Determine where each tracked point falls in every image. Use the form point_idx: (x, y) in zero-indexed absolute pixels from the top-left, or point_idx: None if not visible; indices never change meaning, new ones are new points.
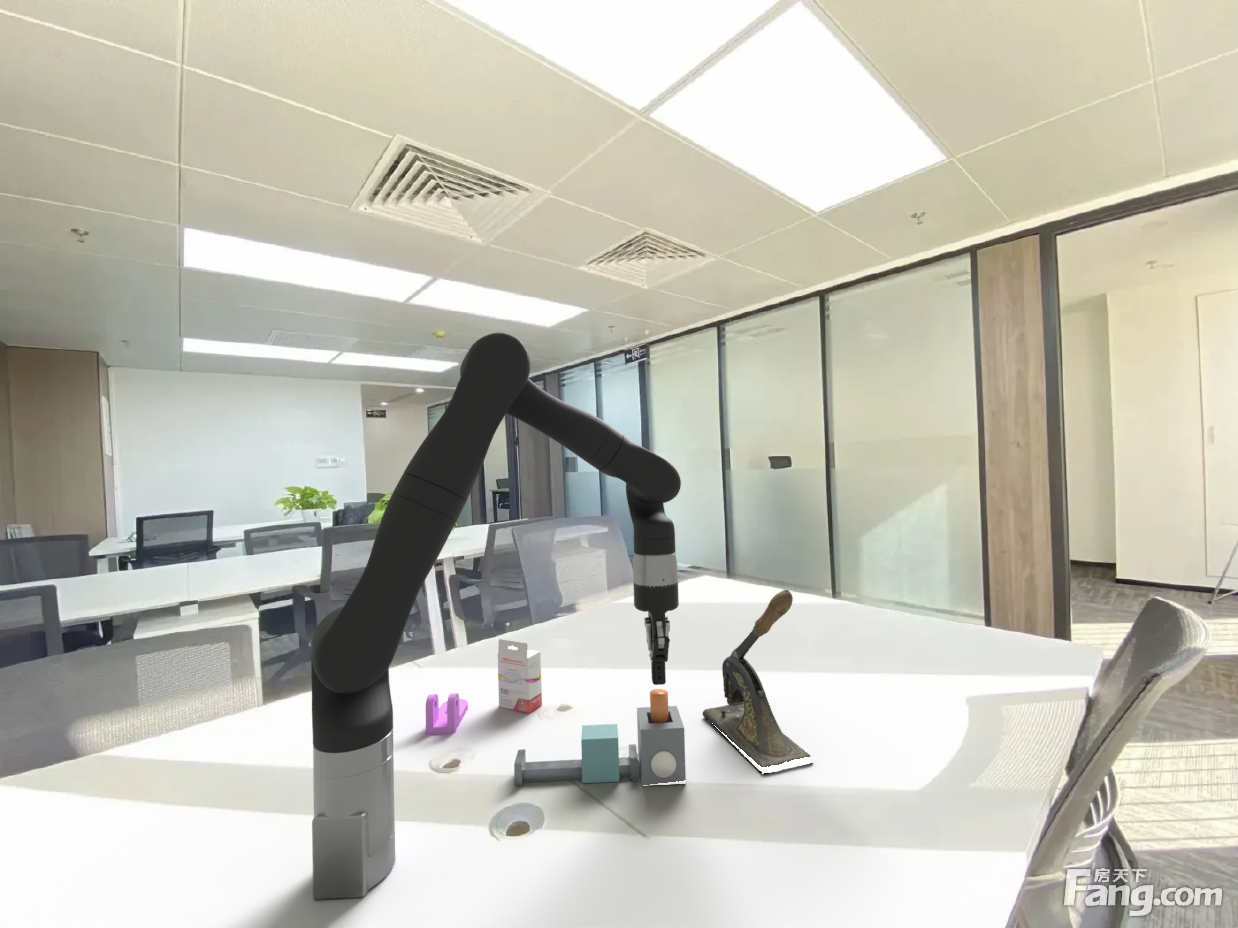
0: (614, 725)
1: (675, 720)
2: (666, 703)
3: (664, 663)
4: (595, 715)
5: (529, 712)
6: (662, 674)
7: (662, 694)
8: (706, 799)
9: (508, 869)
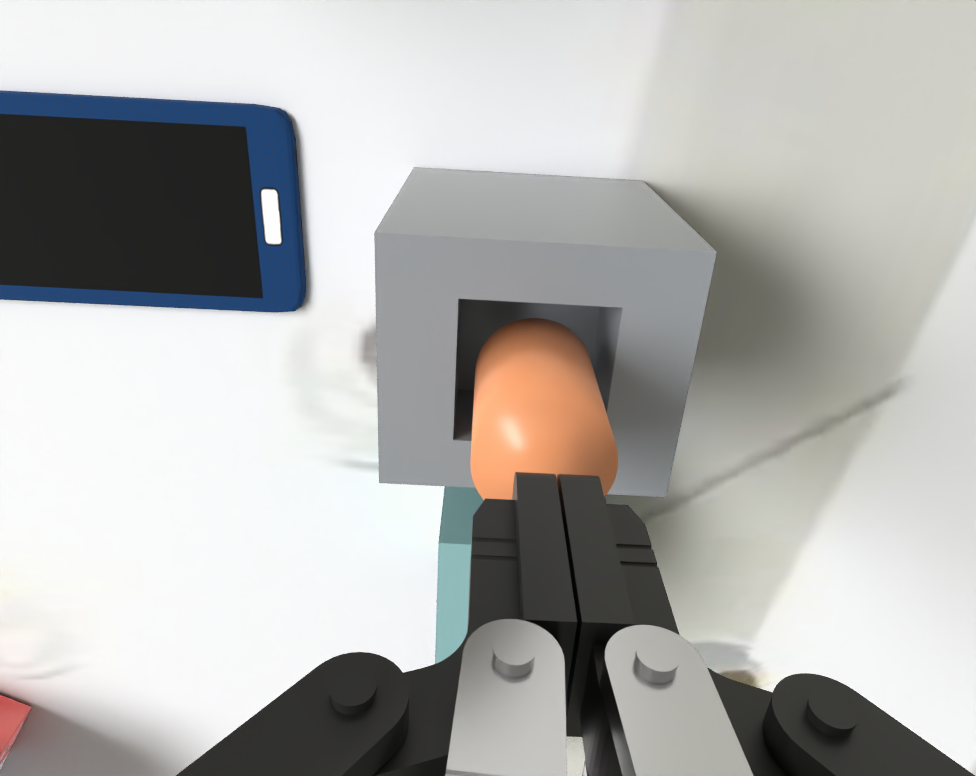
0: (455, 555)
1: (601, 287)
2: (591, 387)
3: (633, 617)
4: (6, 487)
5: (30, 708)
6: (652, 565)
7: (587, 446)
8: (774, 111)
9: (876, 700)
